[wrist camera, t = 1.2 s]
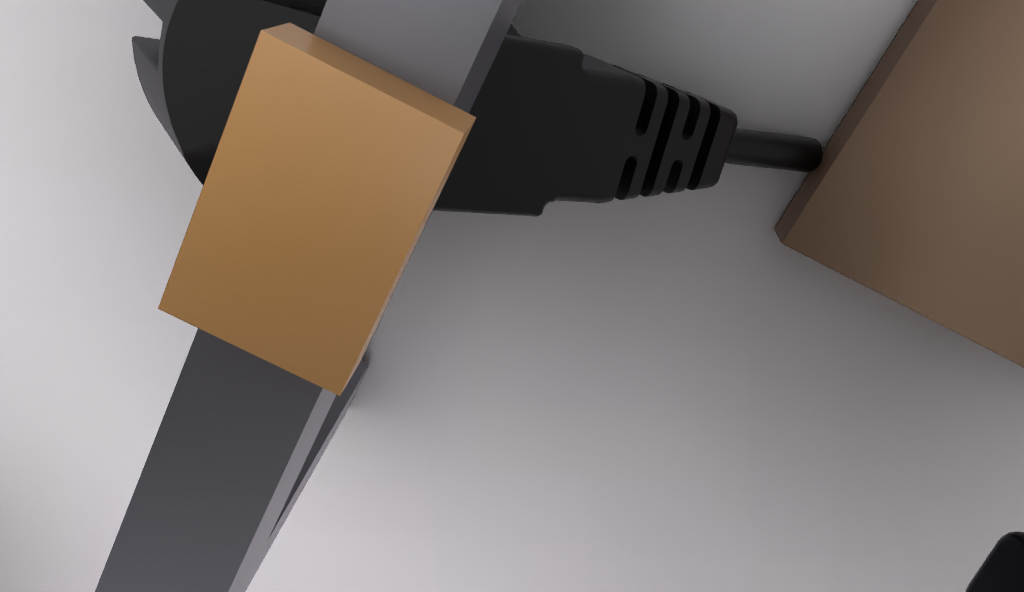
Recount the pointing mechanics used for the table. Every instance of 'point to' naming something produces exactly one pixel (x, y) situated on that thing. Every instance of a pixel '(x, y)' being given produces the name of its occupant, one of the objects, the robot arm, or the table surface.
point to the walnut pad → (931, 175)
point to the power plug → (481, 115)
